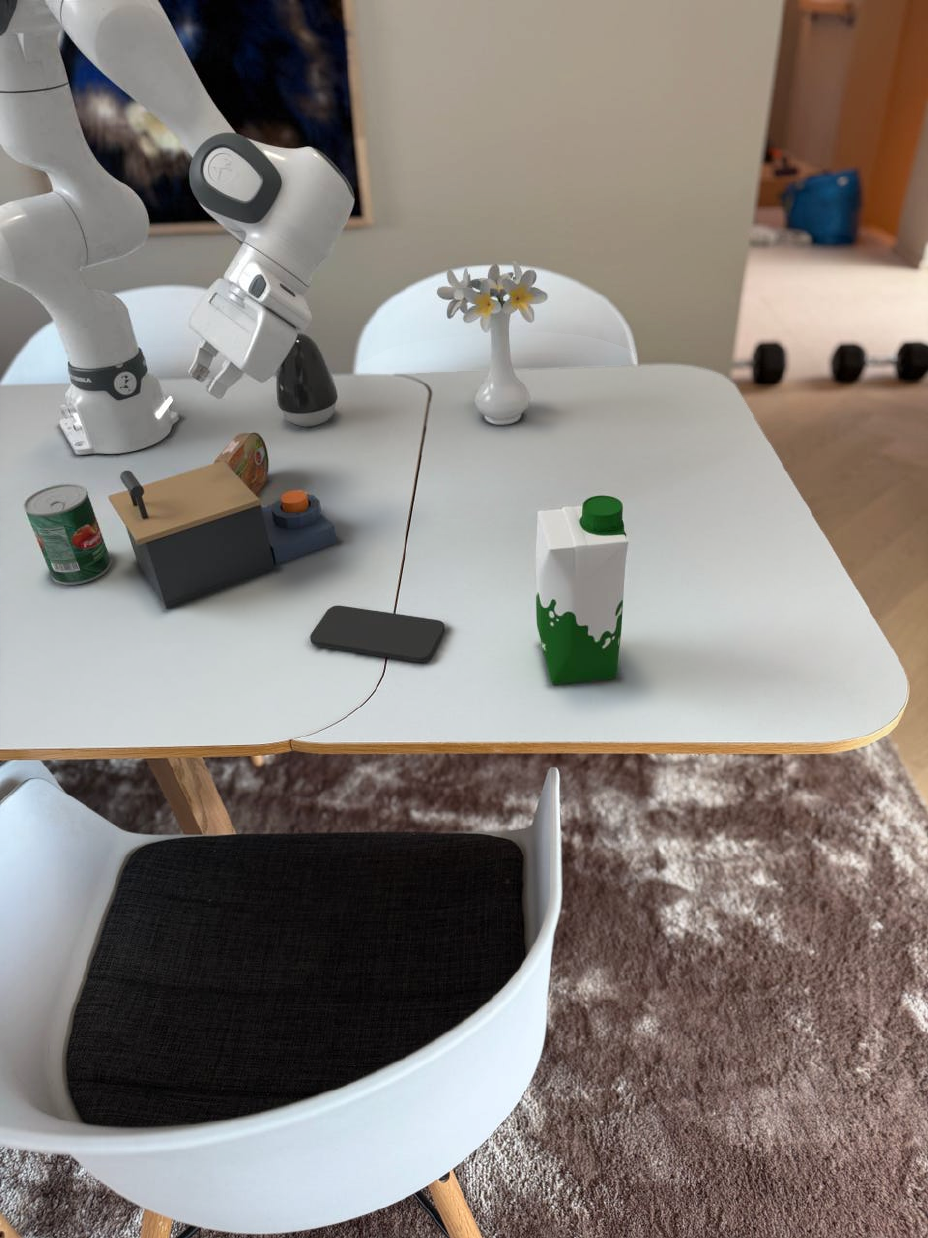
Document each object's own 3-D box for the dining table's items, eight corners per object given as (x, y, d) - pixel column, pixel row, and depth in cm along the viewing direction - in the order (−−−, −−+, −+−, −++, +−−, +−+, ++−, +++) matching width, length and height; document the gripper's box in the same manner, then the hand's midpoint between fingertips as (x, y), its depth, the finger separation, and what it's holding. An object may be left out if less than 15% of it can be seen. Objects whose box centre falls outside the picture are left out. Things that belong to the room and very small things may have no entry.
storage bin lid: (138, 545, 109) (125, 506, 106) (109, 501, 118) (97, 463, 115) (260, 504, 115) (252, 466, 112) (224, 465, 124) (215, 429, 121)
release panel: (276, 564, 122) (270, 536, 119) (246, 530, 130) (240, 502, 127) (338, 542, 126) (333, 514, 123) (306, 509, 133) (301, 482, 131)
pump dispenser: (325, 402, 164) (311, 318, 154) (350, 421, 156) (338, 334, 147) (272, 417, 160) (255, 332, 150) (296, 438, 152) (279, 350, 143)
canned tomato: (50, 562, 126) (22, 492, 119) (108, 547, 128) (84, 477, 121) (53, 591, 120) (24, 519, 113) (114, 575, 122) (89, 504, 116)
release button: (289, 517, 124) (286, 505, 123) (278, 506, 126) (276, 495, 125) (313, 508, 125) (311, 497, 124) (302, 498, 128) (300, 487, 127)
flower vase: (467, 395, 163) (458, 249, 147) (563, 410, 155) (564, 258, 140) (432, 425, 154) (418, 273, 138) (532, 442, 146) (530, 284, 131)
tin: (236, 522, 132) (223, 470, 127) (216, 521, 132) (202, 469, 127) (273, 472, 143) (263, 422, 138) (255, 471, 144) (244, 422, 139)
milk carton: (626, 683, 99) (636, 525, 87) (543, 691, 99) (542, 534, 87) (609, 634, 106) (616, 481, 94) (532, 641, 106) (529, 490, 94)
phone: (427, 659, 103) (306, 640, 107) (427, 665, 103) (307, 645, 107) (447, 620, 109) (331, 603, 112) (447, 626, 109) (332, 609, 113)
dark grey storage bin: (166, 609, 115) (145, 543, 109) (137, 562, 124) (116, 499, 119) (275, 570, 121) (261, 505, 115) (239, 528, 130) (224, 465, 124)
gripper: (211, 252, 113) (155, 348, 115) (274, 292, 99) (209, 400, 101) (252, 281, 118) (197, 373, 120) (318, 323, 104) (254, 426, 106)
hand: (203, 386), depth 110 cm, fingers open, 5 cm apart
